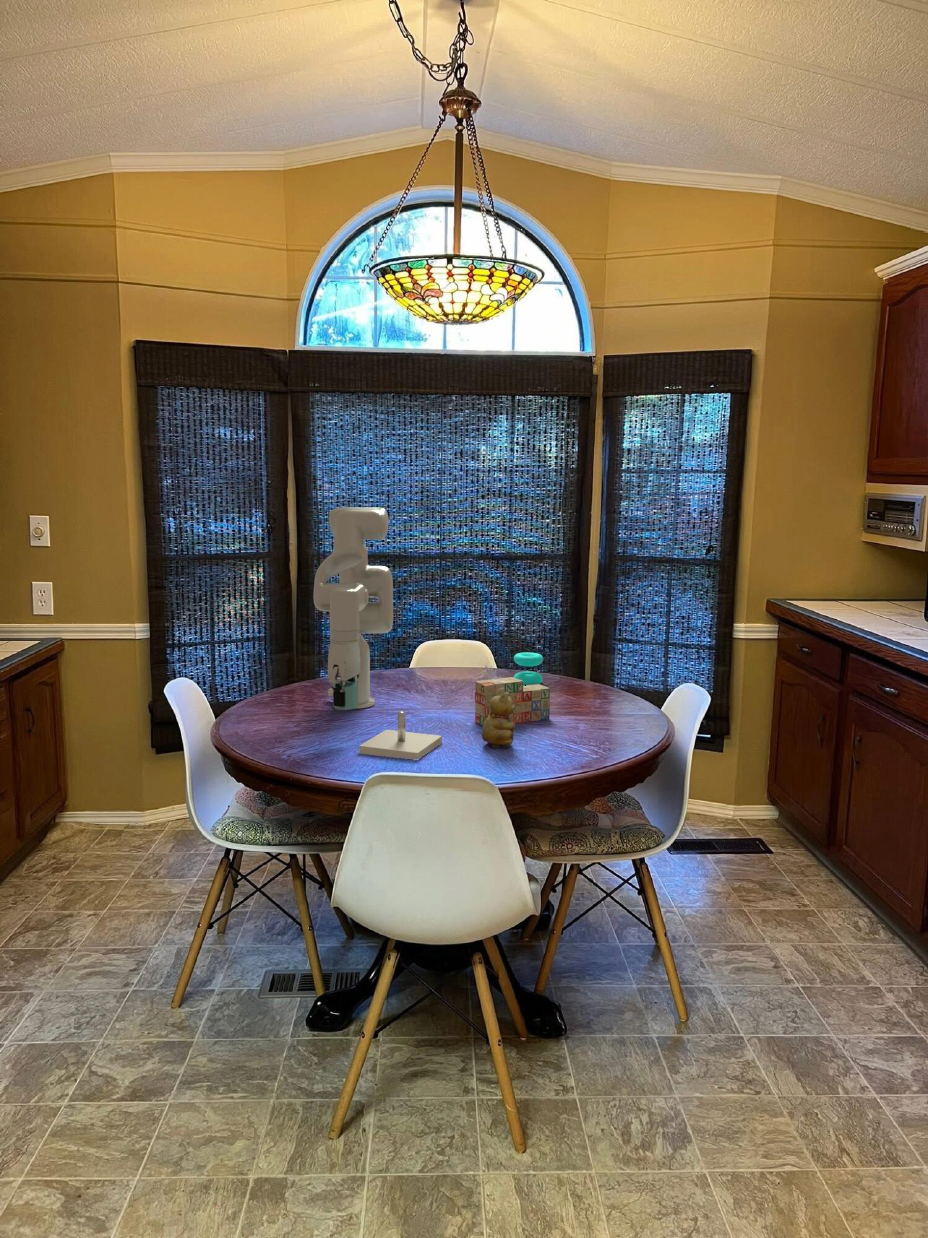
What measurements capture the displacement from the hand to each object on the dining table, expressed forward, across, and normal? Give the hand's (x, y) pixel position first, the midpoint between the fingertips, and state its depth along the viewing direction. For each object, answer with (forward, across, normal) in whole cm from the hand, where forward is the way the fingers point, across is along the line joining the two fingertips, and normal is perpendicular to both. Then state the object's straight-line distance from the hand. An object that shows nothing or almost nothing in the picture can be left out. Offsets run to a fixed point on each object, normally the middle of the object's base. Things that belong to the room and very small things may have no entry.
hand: (345, 702), depth 235 cm
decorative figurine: (+10, -11, +38) cm, 41 cm away
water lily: (+12, -60, +23) cm, 65 cm away
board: (+10, +1, +16) cm, 19 cm away
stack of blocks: (+11, -36, +35) cm, 51 cm away
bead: (+1, 0, 0) cm, 1 cm away
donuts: (+13, -84, +25) cm, 89 cm away
